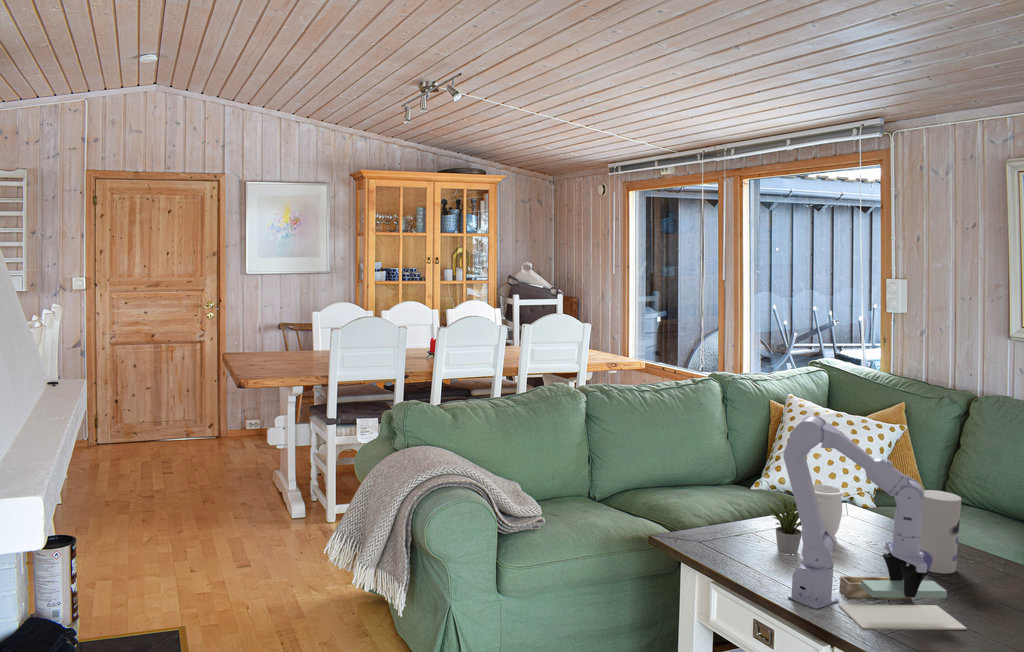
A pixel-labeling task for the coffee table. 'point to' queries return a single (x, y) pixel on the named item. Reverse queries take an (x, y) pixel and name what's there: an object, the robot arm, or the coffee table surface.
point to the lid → (902, 589)
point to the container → (940, 530)
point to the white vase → (829, 506)
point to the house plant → (787, 528)
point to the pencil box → (860, 588)
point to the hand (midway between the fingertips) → (902, 591)
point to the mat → (901, 617)
